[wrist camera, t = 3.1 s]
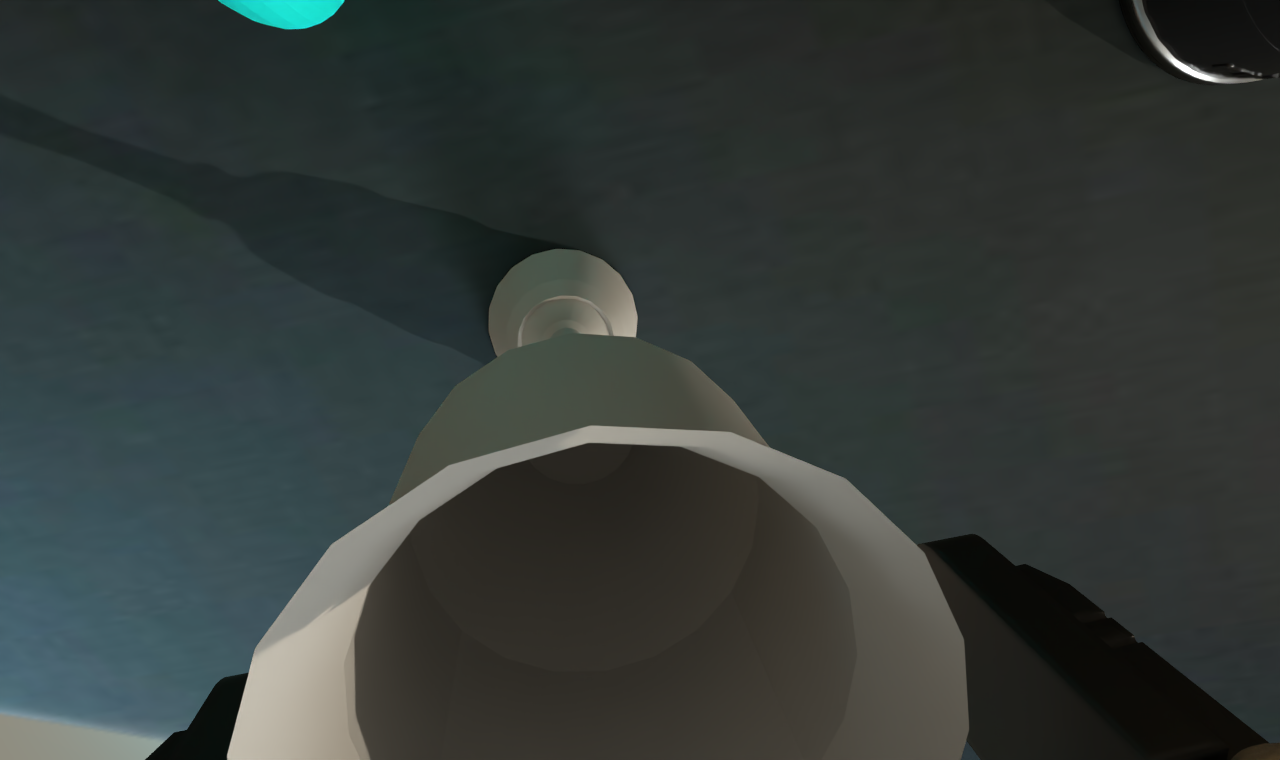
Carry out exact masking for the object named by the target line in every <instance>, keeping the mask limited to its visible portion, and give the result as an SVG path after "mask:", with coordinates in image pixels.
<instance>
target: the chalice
mask: <svg viewBox="0 0 1280 760" xmlns="http://www.w3.org/2000/svg"><path fill="white" fill-rule="evenodd" d="M637 318H638V317H637V312H636V308H635V304H634V299H633V295H632V293H631V292H630V290H629V288H628V287H627V285H626V283H625V282H624V280H623V278H622V277H621V275H620V274H619V273H617V272H616V271H615V270H614V269H613V268H612V267H610V266H609V265H608V264H607V263H606V262H605V261H603V260H602V259H600V258H597V257H595V256H592V255H590V254H588V253H585V252H583V251H580V250H567V249H553V250H549V251H545V252H541V253H537V254H533V255H531V256H529V257H528V258H526V259H525V260H523V261H522V262H520V263H518V264H517V265H515V266H514V267H512V268H511V269H510V271H509V272H508V273H507V274H506V276H505V277H504V278H503V279H502V281H501V282H500V283H499V284H498V286H497V288H496V291H495V293H494V296H493V299H492V302H491V304H490V307H489V335H490V338H491V341H492V344H493V347H494V351H495V354H496V355H497V358H496V359H494V360H493V361H491V362H490V363H488V364H487V365H485V366H484V367H482V368H481V369H480V370H478V371H477V372H475V373H474V374H472V375H471V376H469V377H468V378H466V379H465V380H463V381H462V382H460V383H459V384H458V385H456V386H455V387H454V388H453V390H452V391H451V392H450V394H449V395H448V396H447V398H446V399H445V400H444V402H443V403H442V404H441V406H440V407H439V409H438V410H437V411H436V413H435V414H434V415H433V417H432V418H431V419H430V421H429V422H428V423H427V425H426V426H425V427H424V429H423V430H422V431H421V433H420V434H419V436H418V438H417V440H416V443H415V445H414V447H413V450H412V452H411V454H410V457H409V459H408V461H407V464H406V466H405V468H404V471H403V473H402V475H401V478H400V480H399V482H398V485H397V487H396V489H395V492H394V494H393V496H392V499H391V501H390V503H389V506H388V507H386V508H385V509H383V510H382V511H380V512H379V513H377V514H376V515H375V516H373V517H372V518H370V519H369V520H367V521H366V522H364V523H363V524H361V525H360V526H358V527H357V528H355V529H354V530H352V531H351V532H349V533H348V534H346V535H345V536H343V537H342V538H340V539H339V540H337V541H336V542H335V543H333V544H332V545H331V546H330V547H329V548H328V550H327V551H326V553H325V554H324V555H323V557H322V558H321V559H320V561H319V562H318V563H317V565H316V566H315V567H314V569H313V570H312V572H311V573H310V574H309V576H308V577H307V578H306V580H305V581H304V582H303V584H302V585H301V586H300V588H299V589H298V591H297V592H296V593H295V595H294V596H293V597H292V599H291V600H290V601H289V603H288V604H287V606H286V607H285V608H284V610H283V611H282V612H281V614H280V615H279V616H278V618H277V619H276V620H275V622H274V623H273V625H272V626H271V627H270V629H269V630H268V631H267V633H266V634H265V635H264V637H263V638H262V640H261V641H260V642H259V644H258V645H257V646H256V648H255V651H254V655H253V659H252V663H251V667H250V670H249V674H248V678H247V682H246V686H245V689H244V693H243V697H242V701H241V705H240V708H239V712H238V716H237V720H236V724H235V727H234V731H233V735H232V739H231V743H230V746H229V750H228V754H227V760H961V757H962V753H963V750H964V746H965V743H966V739H967V735H968V732H969V717H968V700H967V682H966V665H965V647H964V639H963V636H962V634H961V632H960V630H959V628H958V625H957V623H956V621H955V619H954V617H953V614H952V612H951V610H950V608H949V606H948V603H947V601H946V599H945V597H944V595H943V593H942V590H941V588H940V586H939V584H938V582H937V579H936V577H935V575H934V573H933V571H932V568H931V566H930V564H929V562H928V560H927V557H926V555H925V553H924V552H923V551H922V550H921V549H920V548H919V547H918V546H917V545H916V544H915V543H913V542H912V541H911V540H910V539H909V538H908V537H907V536H906V535H905V534H904V533H903V532H902V531H901V530H900V529H899V528H898V527H897V526H895V525H894V524H893V523H892V522H891V521H890V520H889V519H888V518H887V517H886V516H885V515H884V514H883V513H882V512H881V511H880V510H878V509H877V508H876V507H875V506H874V505H873V504H872V503H871V502H870V501H869V500H868V499H867V498H866V497H865V496H864V495H863V494H861V493H860V492H859V491H858V490H857V489H856V488H855V487H854V486H853V485H852V484H851V483H850V482H849V481H848V480H847V479H845V478H843V477H840V476H838V475H835V474H833V473H830V472H828V471H825V470H823V469H821V468H818V467H816V466H813V465H811V464H808V463H806V462H803V461H801V460H798V459H796V458H793V457H791V456H789V455H786V454H784V453H781V452H779V451H776V450H774V449H771V448H770V447H769V446H768V445H767V443H766V442H765V441H764V440H763V438H762V437H761V436H760V434H759V433H758V432H757V430H756V429H755V428H754V427H753V425H752V424H751V423H750V421H749V420H748V419H747V417H746V416H745V415H744V414H743V412H742V411H741V410H740V408H739V407H738V406H737V404H736V403H735V402H734V401H733V399H731V398H730V397H729V396H728V395H727V394H726V393H725V392H724V391H723V390H722V389H721V388H720V387H718V386H717V385H716V384H715V383H714V382H713V381H712V380H711V379H710V378H709V377H708V376H706V375H705V374H704V373H703V372H702V371H701V370H700V369H699V368H698V367H697V366H696V365H694V364H693V363H692V362H691V361H689V360H687V359H685V358H682V357H680V356H678V355H675V354H673V353H671V352H668V351H666V350H664V349H661V348H659V347H657V346H654V345H652V344H650V343H647V342H645V341H643V340H640V339H638V338H636V329H637Z"/></svg>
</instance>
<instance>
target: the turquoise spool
mask: <svg viewBox="0 0 1280 760" xmlns="http://www.w3.org/2000/svg"><path fill="white" fill-rule="evenodd" d="M218 1H219V2H221V3H222V4H224V5H226V6H227V7H229V8H231V9H233V10H234V11H236V12H238V13H240V14H242V15H244V16H245V17H247V18H249V19H251V20H253V21H256V22H258V23H262V24H265V25H270V26H274V27H279V28H283V29H302V28H308V27H311V26H314V25H317V24H320V23H322V22H324V21H325V20H326V19H328V18H329V17H331V16H332V15H334V13H335V12H336V11H337V10H338V9H339V7H340V6H341V5H342V4H343V2H344V0H218Z"/></svg>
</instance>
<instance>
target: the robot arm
mask: <svg viewBox="0 0 1280 760" xmlns="http://www.w3.org/2000/svg"><path fill="white" fill-rule="evenodd" d="M1119 2H1120V6H1121V9H1122V13H1123V16H1124V18H1125V21H1126V23H1127V26H1128V28H1129V30H1130V32H1131V34H1132V36H1133V38H1134V40H1135V41H1136V43H1137V44H1138V45H1139V47H1140V48H1141V50H1142V51H1143V52H1144V53H1145V54H1146V55H1147V57H1148V58H1149V59H1150V60H1151V61H1152V62H1154V63H1155V64H1156V65H1157V66H1158V67H1159V68H1161V69H1162V70H1164V71H1165V72H1167V73H1168V74H1171V75H1173V76H1175V77H1177V78H1179V79H1182V80H1185V81H1188V82H1191V83H1197V84H1203V85H1224V84H1235V83H1245V82H1251V81H1257V80H1261V79H1269V78H1279V77H1280V0H1119ZM917 546H918V547H919V548H920V549H921V550H922V551H923V552H924V553H925V555H926V557H927V560H928V562H929V564H930V566H931V568H932V571H933V573H934V575H935V577H936V579H937V582H938V584H939V586H940V588H941V590H942V593H943V595H944V597H945V599H946V601H947V603H948V606H949V608H950V610H951V612H952V614H953V617H954V619H955V621H956V623H957V625H958V628H959V630H960V632H961V634H962V636H963V639H964V647H965V665H966V682H967V700H968V717H969V732H968V735H967V739H966V740H967V742H968V743H969V745H970V746H971V747H972V749H973V750H974V751H975V753H976V754H977V755H978V757H979V758H980V759H981V760H1280V743H1269V742H1267V741H1266V740H1265V739H1264V738H1262V737H1261V736H1260V735H1258V734H1257V733H1256V732H1255V731H1253V730H1252V729H1251V728H1250V727H1248V726H1247V725H1246V724H1245V723H1243V722H1242V721H1241V720H1240V719H1238V718H1237V717H1236V716H1235V715H1233V714H1232V713H1231V712H1230V711H1228V710H1227V709H1226V708H1225V707H1223V706H1222V705H1221V704H1219V703H1218V702H1217V701H1216V700H1214V699H1213V698H1212V697H1211V696H1209V695H1208V694H1207V693H1206V692H1204V691H1203V690H1202V689H1201V688H1199V687H1198V686H1197V685H1196V684H1194V683H1193V682H1192V681H1191V680H1189V679H1188V678H1187V677H1186V676H1184V675H1183V674H1182V673H1180V672H1179V671H1178V670H1177V669H1175V668H1174V667H1173V666H1172V665H1170V664H1169V663H1168V662H1167V661H1165V660H1164V659H1163V658H1162V657H1160V656H1159V655H1158V654H1157V653H1155V652H1154V651H1153V650H1152V649H1150V648H1149V647H1148V646H1147V645H1145V644H1144V643H1143V642H1140V643H1137V642H1136V640H1135V638H1134V635H1133V634H1131V633H1130V632H1129V631H1128V630H1126V629H1125V628H1124V627H1123V626H1121V625H1120V624H1119V623H1118V622H1116V621H1115V620H1114V619H1113V618H1106V616H1105V613H1104V611H1103V610H1101V609H1100V608H1099V607H1097V606H1096V605H1095V604H1094V603H1092V602H1091V601H1090V600H1089V599H1087V598H1086V597H1085V596H1084V595H1082V594H1081V593H1080V592H1079V591H1077V590H1076V589H1075V588H1074V587H1072V586H1071V585H1070V584H1068V583H1066V582H1064V581H1061V580H1059V579H1057V578H1055V577H1053V576H1050V575H1048V574H1046V573H1044V572H1042V571H1040V570H1037V569H1035V568H1033V567H1031V566H1029V565H1026V564H1023V565H1018V566H1015V565H1014V564H1012V563H1011V562H1010V561H1009V560H1008V559H1006V558H1005V557H1004V556H1003V555H1002V554H1001V553H999V552H998V551H997V550H996V549H995V548H993V547H992V546H991V545H990V544H989V543H988V542H986V541H985V540H984V539H983V538H981V537H980V536H978V535H975V534H968V535H963V536H958V537H953V538H948V539H943V540H938V541H932V542H927V543H922V544H918V545H917ZM248 674H249V673H245V674H240V675H235V676H229V677H225V678H223V679H221V680H220V681H219V682H218V683H217V684H216V685H215V686H214V688H213V689H212V691H211V693H210V694H209V696H208V697H207V699H206V700H205V702H204V704H203V705H202V707H201V708H200V710H199V712H198V713H197V715H196V716H195V718H194V720H193V721H192V723H191V724H190V726H189V727H188V729H187V730H184V731H179V732H174V733H173V734H172V735H171V736H170V737H169V738H168V739H167V740H166V741H165V742H164V743H162V744H161V745H160V746H159V747H158V748H157V749H156V750H155V751H154V752H153V753H152V754H151V755H150V756H149V757H148V758H146V759H145V760H227V754H228V750H229V746H230V743H231V739H232V735H233V731H234V727H235V724H236V720H237V716H238V712H239V708H240V705H241V701H242V697H243V693H244V689H245V686H246V682H247V678H248Z"/></svg>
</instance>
